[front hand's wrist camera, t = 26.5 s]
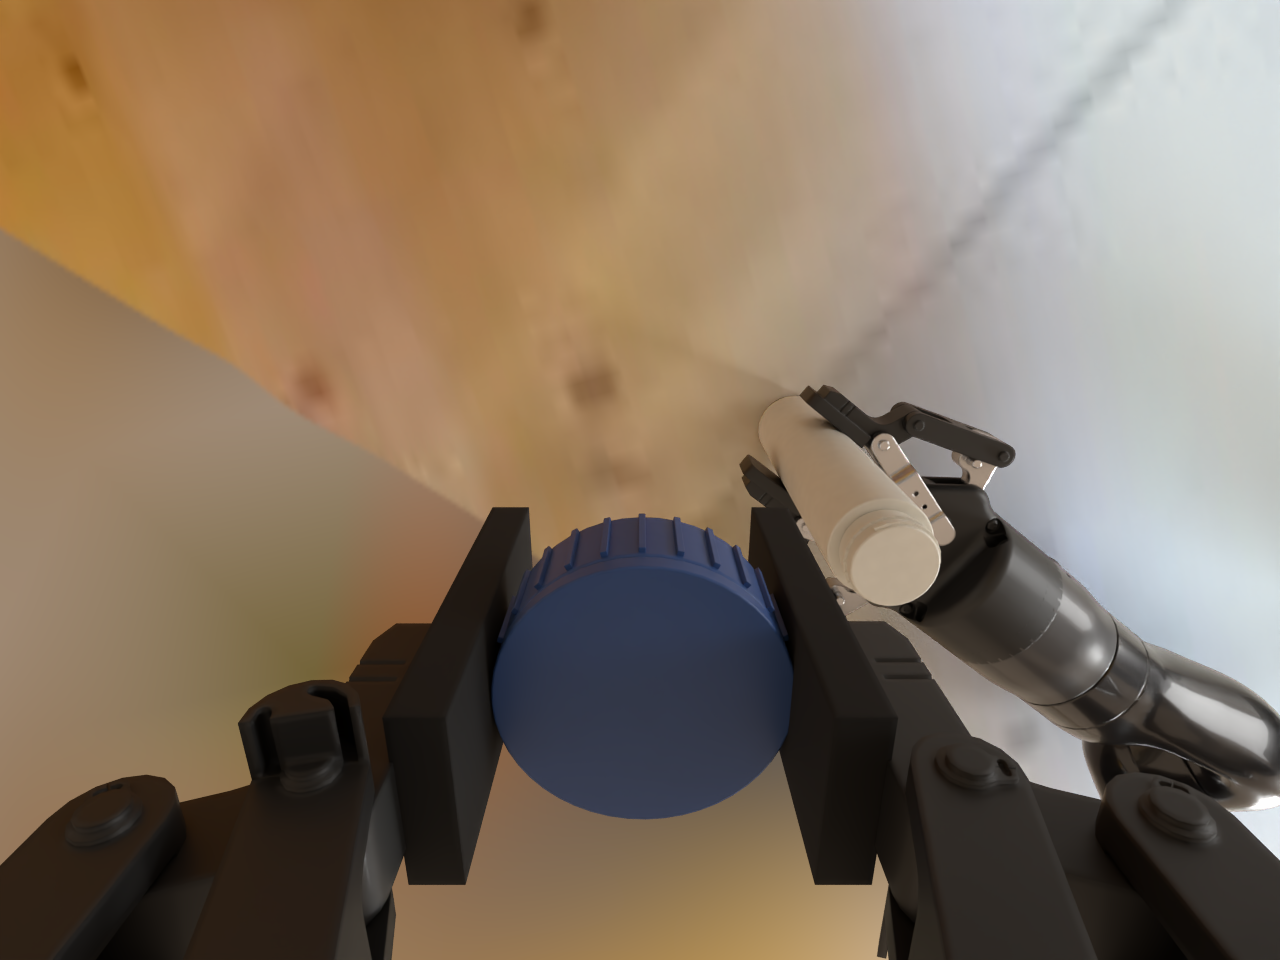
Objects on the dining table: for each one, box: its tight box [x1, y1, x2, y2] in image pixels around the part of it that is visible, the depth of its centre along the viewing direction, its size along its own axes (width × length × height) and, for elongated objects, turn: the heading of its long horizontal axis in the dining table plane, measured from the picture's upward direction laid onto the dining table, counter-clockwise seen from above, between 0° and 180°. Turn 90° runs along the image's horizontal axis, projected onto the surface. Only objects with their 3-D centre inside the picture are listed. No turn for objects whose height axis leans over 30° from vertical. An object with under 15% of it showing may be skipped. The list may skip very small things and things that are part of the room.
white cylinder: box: [758, 396, 941, 606], centre depth 33 cm, size 4×4×18 cm
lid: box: [491, 514, 794, 819], centre depth 11 cm, size 5×5×2 cm
